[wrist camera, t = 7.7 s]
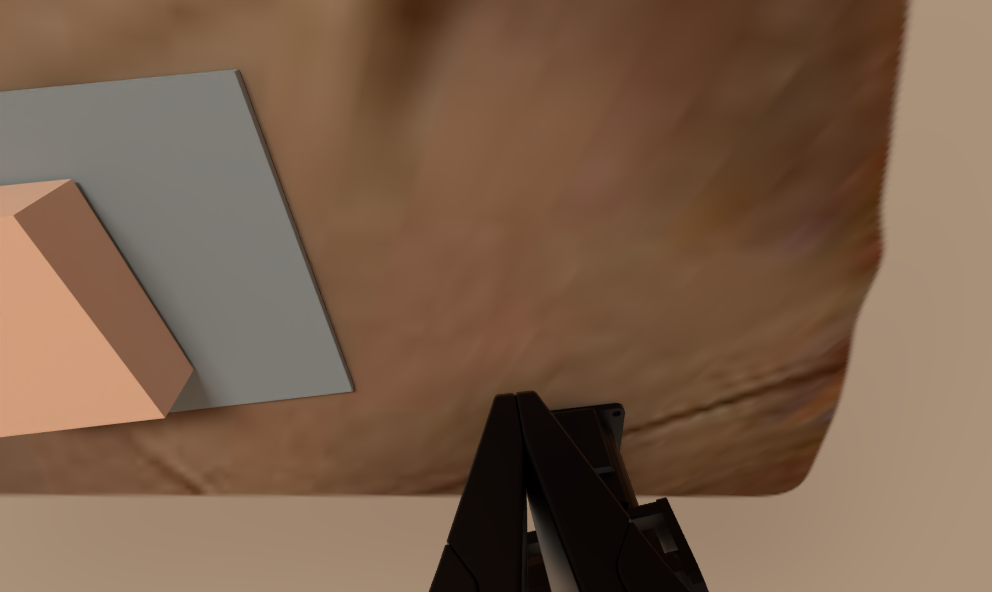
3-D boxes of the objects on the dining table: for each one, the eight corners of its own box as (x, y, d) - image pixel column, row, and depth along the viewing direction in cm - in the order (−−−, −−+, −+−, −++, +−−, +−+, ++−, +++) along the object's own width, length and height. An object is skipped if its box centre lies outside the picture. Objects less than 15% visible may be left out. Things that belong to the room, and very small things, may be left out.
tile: (165, 418, 21) (-43, 442, 21) (195, 366, 24) (11, 387, 23) (12, 215, 15) (-280, 245, 15) (75, 176, 18) (-174, 201, 18)
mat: (353, 385, 26) (352, 391, 26) (-21, 428, 25) (-26, 434, 25) (238, 68, 16) (234, 71, 16) (-364, 126, 16) (-381, 130, 16)
